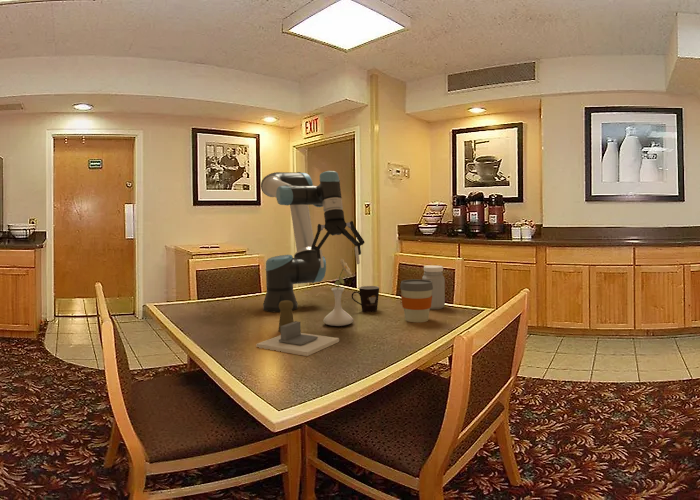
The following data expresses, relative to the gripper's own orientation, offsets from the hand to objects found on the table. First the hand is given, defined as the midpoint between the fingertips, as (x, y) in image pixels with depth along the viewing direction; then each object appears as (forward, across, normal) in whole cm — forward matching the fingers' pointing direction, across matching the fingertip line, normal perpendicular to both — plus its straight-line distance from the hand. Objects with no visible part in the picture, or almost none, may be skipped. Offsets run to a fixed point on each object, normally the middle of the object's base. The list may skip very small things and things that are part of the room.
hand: (340, 265), depth 188 cm
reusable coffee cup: (+23, +28, +7) cm, 37 cm away
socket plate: (+27, -20, -17) cm, 38 cm away
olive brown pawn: (+22, -22, +2) cm, 31 cm away
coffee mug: (+16, +13, +28) cm, 35 cm away
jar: (+18, +42, +27) cm, 54 cm away
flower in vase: (+22, -2, +7) cm, 23 cm away
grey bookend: (+26, -20, -17) cm, 37 cm away
